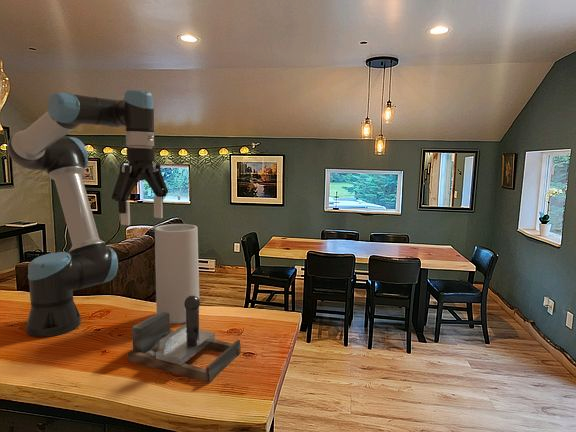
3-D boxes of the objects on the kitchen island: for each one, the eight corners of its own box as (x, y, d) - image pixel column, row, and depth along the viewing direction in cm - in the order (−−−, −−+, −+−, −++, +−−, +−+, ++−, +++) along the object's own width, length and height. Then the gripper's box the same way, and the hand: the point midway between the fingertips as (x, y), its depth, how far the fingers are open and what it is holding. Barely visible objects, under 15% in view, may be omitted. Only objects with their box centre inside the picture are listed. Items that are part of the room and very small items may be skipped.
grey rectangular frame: (127, 361, 107) (126, 330, 106) (166, 336, 122) (165, 308, 120) (209, 383, 98) (209, 349, 96) (240, 353, 112) (240, 323, 111)
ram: (155, 367, 104) (153, 302, 101) (191, 341, 118) (190, 283, 115) (181, 374, 100) (180, 307, 98) (215, 346, 115) (214, 288, 112)
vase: (181, 305, 147) (179, 222, 142) (208, 315, 138) (207, 227, 133) (148, 317, 135) (144, 227, 130) (175, 329, 127) (172, 233, 122)
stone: (148, 368, 105) (171, 349, 105) (136, 352, 106) (159, 333, 106) (164, 359, 115) (184, 341, 115) (153, 344, 116) (173, 327, 116)
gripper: (117, 146, 99) (120, 229, 102) (178, 148, 122) (179, 216, 125) (94, 146, 101) (98, 226, 105) (159, 148, 124) (160, 214, 128)
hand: (142, 221), depth 115 cm, fingers open, 13 cm apart
